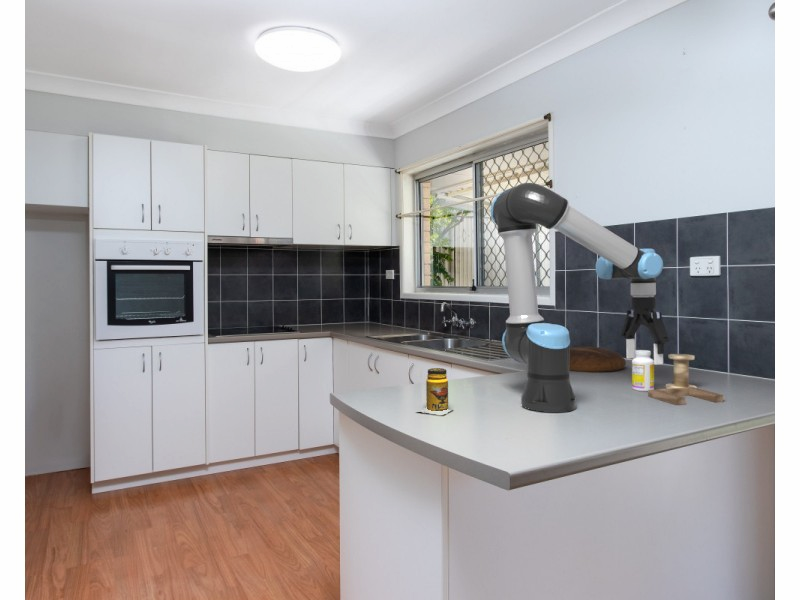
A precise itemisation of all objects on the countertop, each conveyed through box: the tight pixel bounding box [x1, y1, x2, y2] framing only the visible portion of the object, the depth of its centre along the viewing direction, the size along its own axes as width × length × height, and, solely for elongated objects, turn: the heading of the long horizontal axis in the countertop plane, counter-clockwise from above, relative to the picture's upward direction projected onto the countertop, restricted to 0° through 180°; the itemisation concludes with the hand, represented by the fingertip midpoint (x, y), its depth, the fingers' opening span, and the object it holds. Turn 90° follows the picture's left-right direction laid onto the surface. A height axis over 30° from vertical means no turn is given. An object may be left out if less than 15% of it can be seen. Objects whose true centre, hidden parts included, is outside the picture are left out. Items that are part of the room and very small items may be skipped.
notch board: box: [647, 387, 724, 406], centre depth 161 cm, size 16×12×2 cm
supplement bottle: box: [631, 349, 655, 392], centre depth 174 cm, size 7×7×13 cm
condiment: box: [425, 367, 449, 411], centre depth 148 cm, size 7×8×12 cm
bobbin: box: [665, 353, 698, 389], centre depth 174 cm, size 9×9×11 cm
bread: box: [569, 345, 627, 373], centre depth 220 cm, size 28×27×9 cm
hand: (644, 361), depth 174 cm, fingers open, 13 cm apart
